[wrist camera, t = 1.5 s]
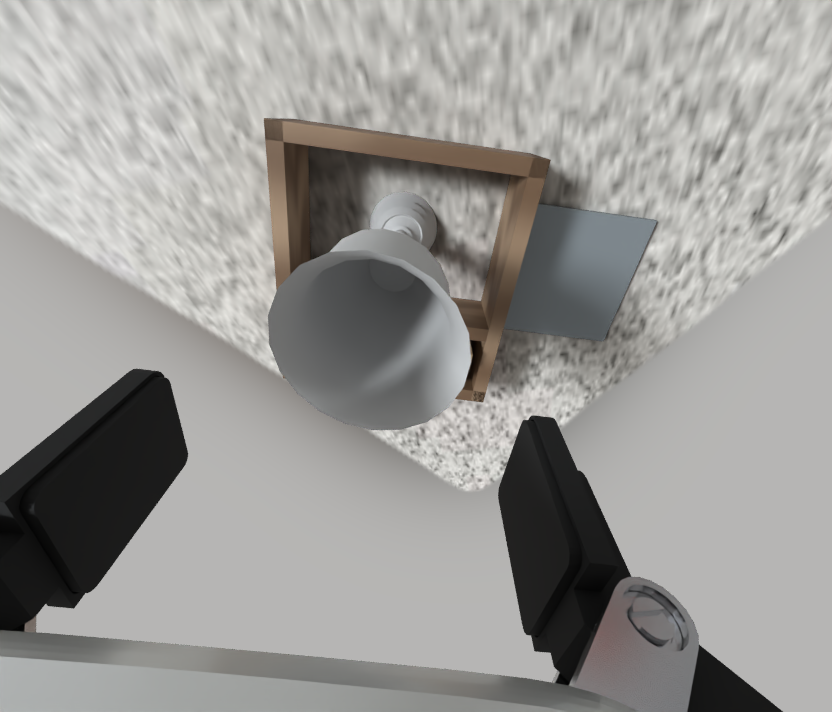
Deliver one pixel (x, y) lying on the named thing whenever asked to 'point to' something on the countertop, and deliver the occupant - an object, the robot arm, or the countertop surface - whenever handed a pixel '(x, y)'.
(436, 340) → the chalice
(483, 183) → the countertop surface
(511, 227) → the frame
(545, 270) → the mat
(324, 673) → the robot arm
